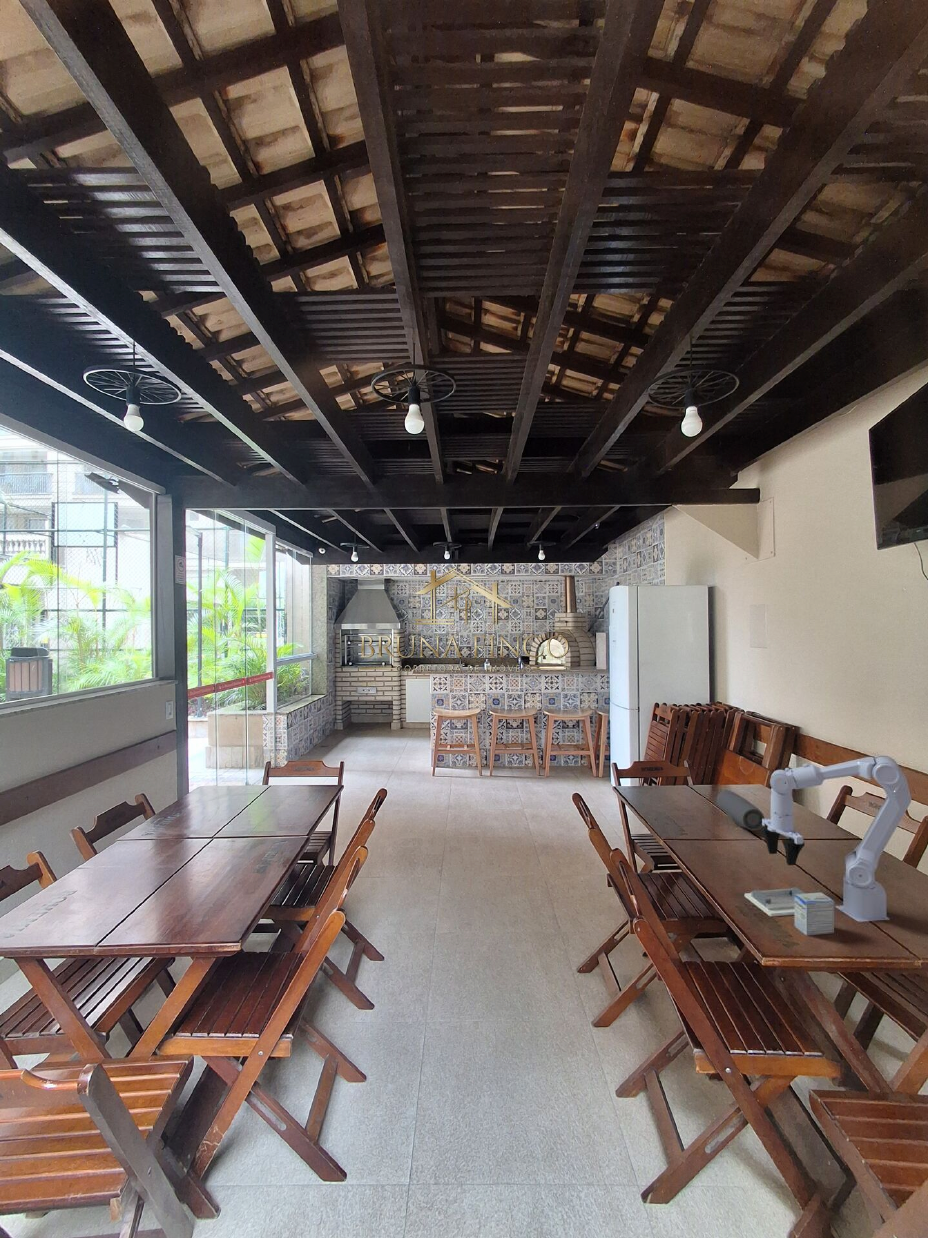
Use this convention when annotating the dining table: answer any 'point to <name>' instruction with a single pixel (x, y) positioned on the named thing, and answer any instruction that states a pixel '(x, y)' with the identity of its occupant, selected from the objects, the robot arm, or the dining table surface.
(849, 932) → the dining table surface
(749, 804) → the bluetooth speaker
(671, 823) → the dining table surface
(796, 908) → the medicine box
